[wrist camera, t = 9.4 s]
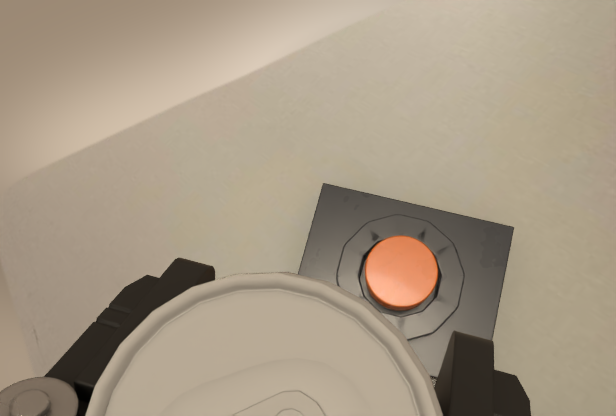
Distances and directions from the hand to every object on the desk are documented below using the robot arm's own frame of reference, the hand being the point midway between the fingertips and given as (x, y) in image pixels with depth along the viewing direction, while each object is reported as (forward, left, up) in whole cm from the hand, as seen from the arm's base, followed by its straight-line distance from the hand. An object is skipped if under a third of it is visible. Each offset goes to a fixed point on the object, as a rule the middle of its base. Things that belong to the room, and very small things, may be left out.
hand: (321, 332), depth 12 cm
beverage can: (0, -2, -8) cm, 8 cm away
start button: (+1, +4, -19) cm, 20 cm away
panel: (+1, +4, -22) cm, 23 cm away
